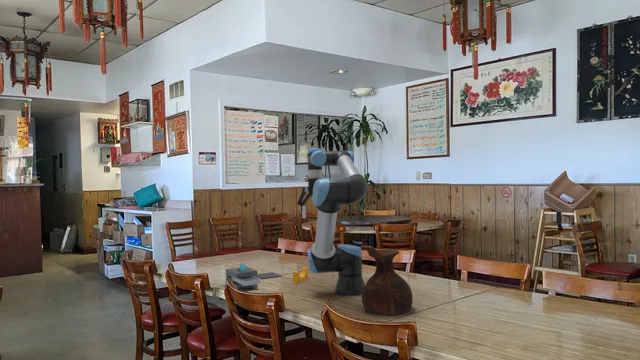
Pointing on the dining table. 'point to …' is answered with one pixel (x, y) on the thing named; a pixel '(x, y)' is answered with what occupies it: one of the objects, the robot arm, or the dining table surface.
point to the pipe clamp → (300, 275)
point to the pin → (243, 267)
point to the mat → (268, 275)
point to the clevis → (243, 277)
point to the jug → (385, 286)
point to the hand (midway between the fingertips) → (316, 218)
